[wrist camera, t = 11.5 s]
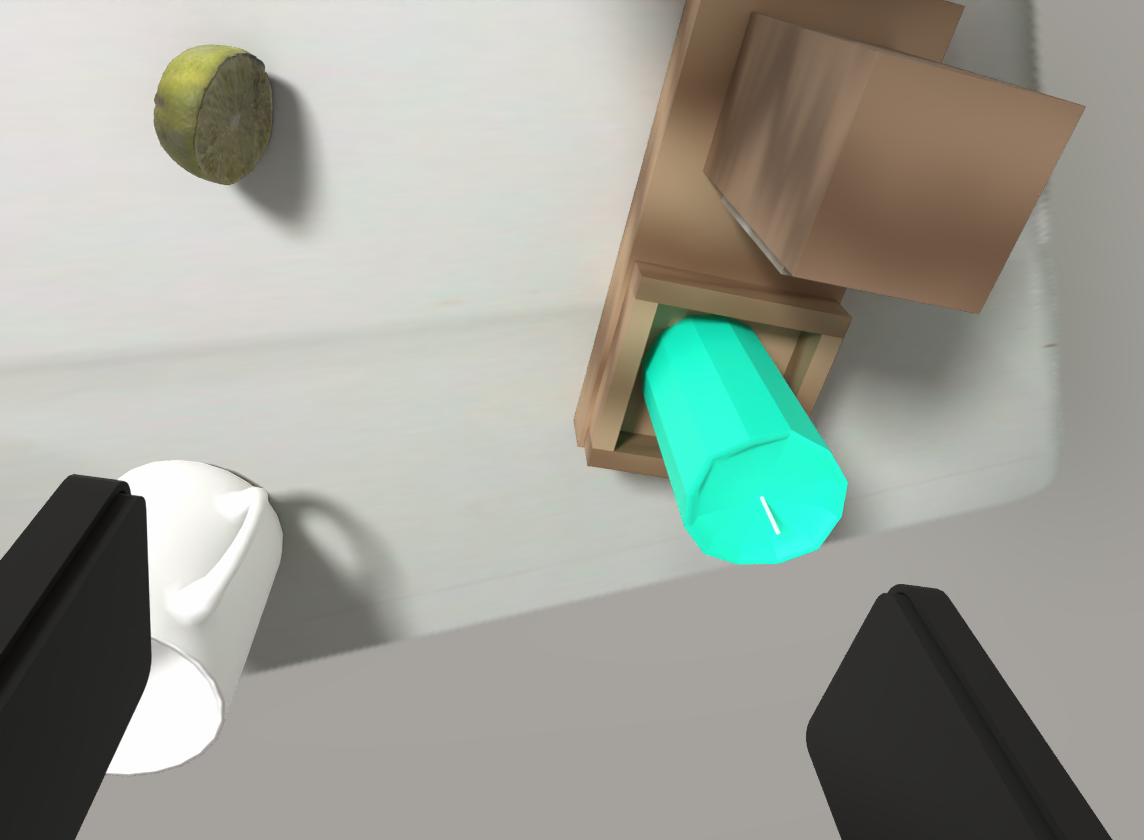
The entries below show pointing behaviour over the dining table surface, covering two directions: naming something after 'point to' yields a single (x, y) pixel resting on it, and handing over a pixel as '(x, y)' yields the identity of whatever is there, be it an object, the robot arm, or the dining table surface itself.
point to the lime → (214, 112)
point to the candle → (738, 444)
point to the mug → (197, 606)
